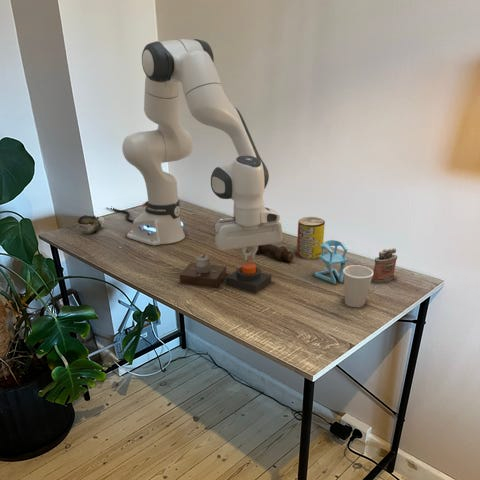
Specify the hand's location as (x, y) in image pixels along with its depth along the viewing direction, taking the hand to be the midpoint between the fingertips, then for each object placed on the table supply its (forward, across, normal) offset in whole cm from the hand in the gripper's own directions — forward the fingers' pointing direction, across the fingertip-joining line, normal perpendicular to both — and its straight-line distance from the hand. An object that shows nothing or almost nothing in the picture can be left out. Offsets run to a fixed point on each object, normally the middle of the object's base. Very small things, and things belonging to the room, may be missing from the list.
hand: (248, 259), depth 150 cm
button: (+4, 0, 0) cm, 4 cm away
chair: (+8, +26, -5) cm, 28 cm away
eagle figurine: (+8, -42, +67) cm, 79 cm away
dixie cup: (+9, +25, -22) cm, 34 cm away
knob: (+5, -12, +8) cm, 16 cm away
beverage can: (+8, +28, +16) cm, 33 cm away
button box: (+8, 0, 0) cm, 8 cm away
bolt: (+8, +16, +17) cm, 25 cm away
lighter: (+9, +41, -11) cm, 43 cm away
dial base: (+8, -12, +8) cm, 17 cm away
